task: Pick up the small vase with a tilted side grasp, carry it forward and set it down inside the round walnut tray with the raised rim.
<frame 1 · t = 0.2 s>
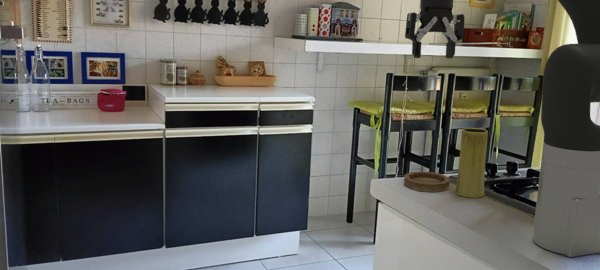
hand: (433, 58, 119), 29 cm above the counter, tool pointing down, fingers open, 8 cm apart
round tray: (426, 185, 115), on the counter
vase: (469, 194, 109), on the counter
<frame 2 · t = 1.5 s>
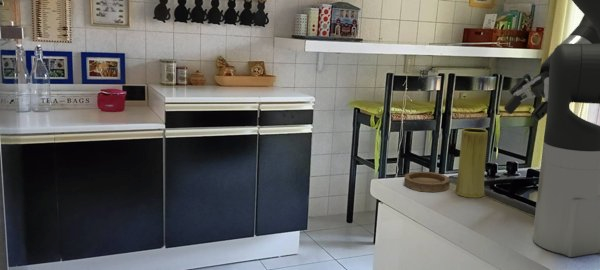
hand: (520, 114, 109), 17 cm above the counter, tool tilted 45°, fingers open, 8 cm apart
nothing on the counter moved.
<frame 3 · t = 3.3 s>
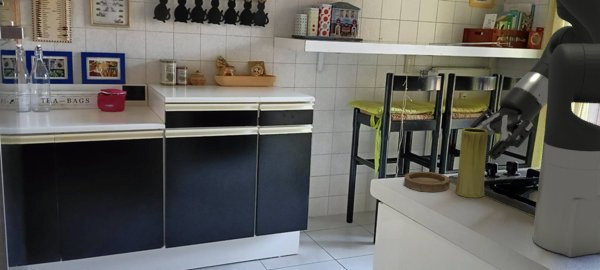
hand: (478, 152, 108), 9 cm above the counter, tool tilted 45°, fingers open, 8 cm apart
nothing on the counter moved.
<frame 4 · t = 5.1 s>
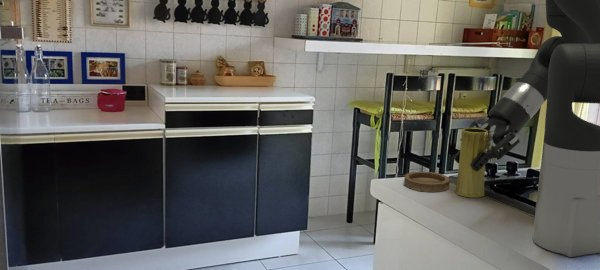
hand: (464, 164, 107), 7 cm above the counter, tool tilted 45°, fingers closed on vase, 5 cm apart
vase: (469, 194, 109), on the counter, touching gripper
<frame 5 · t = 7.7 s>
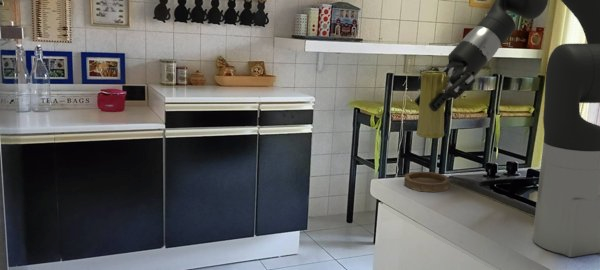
hand: (424, 106, 111), 18 cm above the counter, tool tilted 45°, fingers closed on vase, 5 cm apart
vase: (430, 136, 113), point 12 cm above the counter, touching gripper
when the fingers open (9 cm above the counter, at t = 10.2 s): vase drops 1 cm, resting on round tray.
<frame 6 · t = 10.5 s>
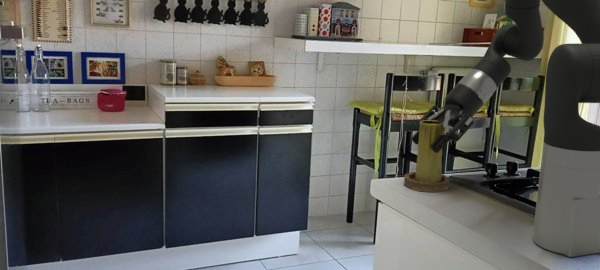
hand: (423, 146, 113), 9 cm above the counter, tool tilted 45°, fingers open, 8 cm apart
vase: (427, 183, 115), resting on round tray
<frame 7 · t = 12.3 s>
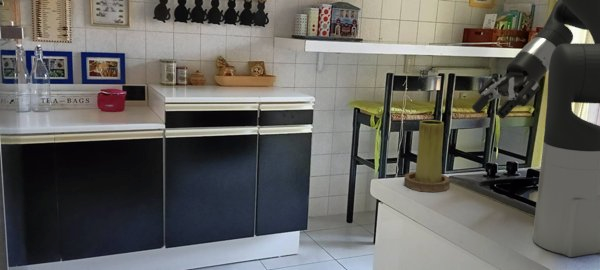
hand: (486, 113, 113), 17 cm above the counter, tool tilted 45°, fingers open, 8 cm apart
nothing on the counter moved.
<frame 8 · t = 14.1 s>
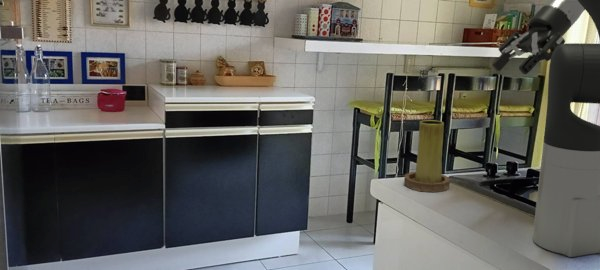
hand: (508, 69, 109), 27 cm above the counter, tool tilted 45°, fingers open, 8 cm apart
nothing on the counter moved.
at the end: vase 0.3 cm from the round tray (horizontally); vase resting on round tray; vase tilted 0° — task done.
